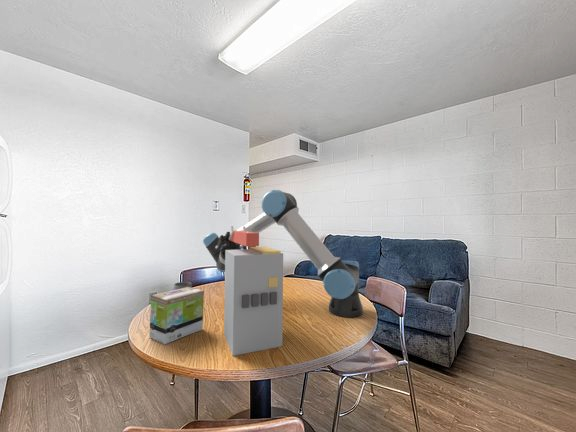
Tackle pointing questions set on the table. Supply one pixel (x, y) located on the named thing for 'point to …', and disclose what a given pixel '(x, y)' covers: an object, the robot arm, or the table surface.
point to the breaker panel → (253, 301)
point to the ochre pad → (265, 250)
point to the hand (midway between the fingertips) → (238, 229)
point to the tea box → (176, 314)
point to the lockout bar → (245, 238)
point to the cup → (182, 285)
